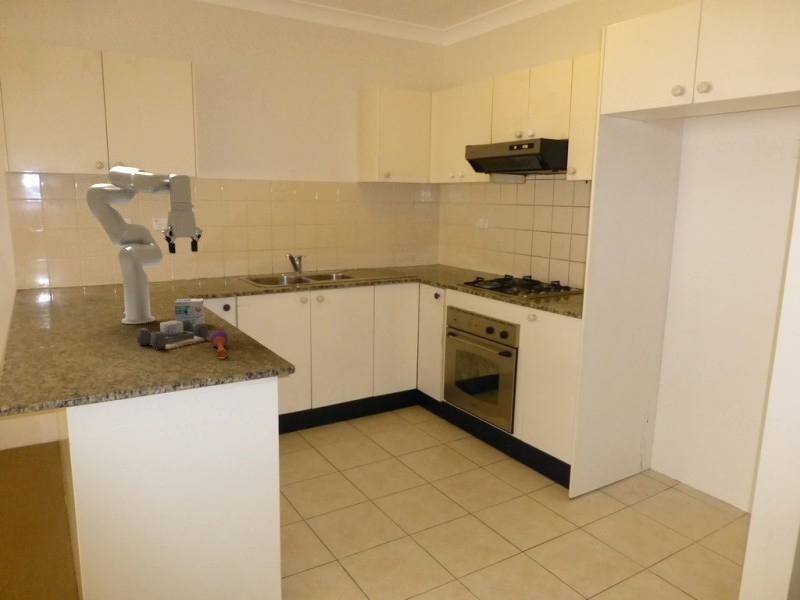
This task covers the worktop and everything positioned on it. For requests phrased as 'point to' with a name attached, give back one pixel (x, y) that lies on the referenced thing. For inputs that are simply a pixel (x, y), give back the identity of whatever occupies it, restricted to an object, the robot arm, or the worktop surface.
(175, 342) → the chassis board
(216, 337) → the purple maraca
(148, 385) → the worktop surface
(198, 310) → the light bulb box
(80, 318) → the worktop surface
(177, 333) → the grey cube
